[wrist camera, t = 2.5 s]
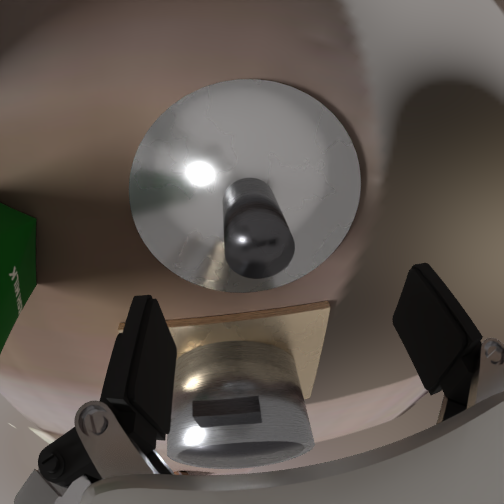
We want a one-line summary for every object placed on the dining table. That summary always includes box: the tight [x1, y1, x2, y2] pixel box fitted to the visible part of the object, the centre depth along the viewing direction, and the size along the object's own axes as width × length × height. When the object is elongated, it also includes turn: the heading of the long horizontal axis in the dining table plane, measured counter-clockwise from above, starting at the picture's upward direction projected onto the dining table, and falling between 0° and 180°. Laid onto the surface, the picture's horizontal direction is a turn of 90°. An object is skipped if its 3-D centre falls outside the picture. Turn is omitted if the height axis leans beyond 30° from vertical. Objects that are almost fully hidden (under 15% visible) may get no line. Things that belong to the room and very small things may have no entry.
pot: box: [118, 301, 330, 469], centre depth 23 cm, size 18×18×10 cm
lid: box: [129, 79, 361, 293], centre depth 14 cm, size 14×14×6 cm
